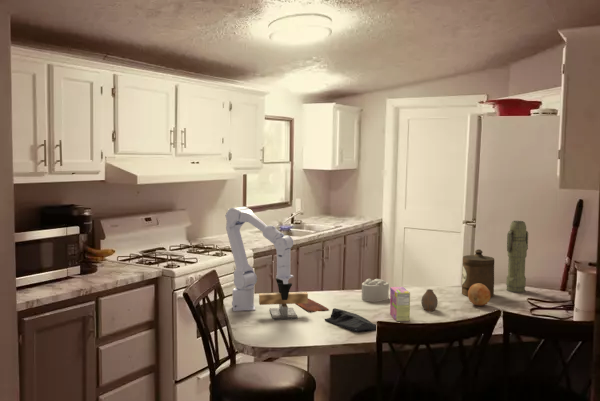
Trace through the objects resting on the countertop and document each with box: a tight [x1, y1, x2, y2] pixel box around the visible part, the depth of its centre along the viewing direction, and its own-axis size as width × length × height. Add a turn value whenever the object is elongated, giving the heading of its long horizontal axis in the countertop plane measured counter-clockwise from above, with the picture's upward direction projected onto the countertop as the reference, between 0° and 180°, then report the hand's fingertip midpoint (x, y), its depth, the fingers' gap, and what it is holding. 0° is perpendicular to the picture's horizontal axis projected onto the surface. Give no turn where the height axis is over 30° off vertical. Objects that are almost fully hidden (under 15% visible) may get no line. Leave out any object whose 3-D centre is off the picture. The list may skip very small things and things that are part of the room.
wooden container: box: [461, 249, 495, 298], centre depth 268 cm, size 15×15×22 cm
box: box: [389, 286, 411, 322], centre depth 228 cm, size 10×6×12 cm, turn 5°
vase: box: [421, 288, 439, 312], centre depth 241 cm, size 7×7×9 cm
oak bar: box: [258, 291, 309, 306], centre depth 230 cm, size 20×3×4 cm, turn 99°
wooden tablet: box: [296, 298, 330, 313], centre depth 248 cm, size 27×10×2 cm, turn 23°
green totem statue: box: [505, 220, 529, 294], centre depth 276 cm, size 9×12×35 cm
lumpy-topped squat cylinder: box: [361, 278, 390, 302], centre depth 260 cm, size 10×13×9 cm
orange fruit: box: [467, 283, 491, 307], centre depth 248 cm, size 10×10×10 cm
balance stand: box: [269, 304, 299, 321], centre depth 231 cm, size 10×14×5 cm
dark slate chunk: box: [324, 308, 377, 332], centre depth 219 cm, size 15×22×5 cm
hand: (283, 297), depth 230 cm, fingers open, 7 cm apart
